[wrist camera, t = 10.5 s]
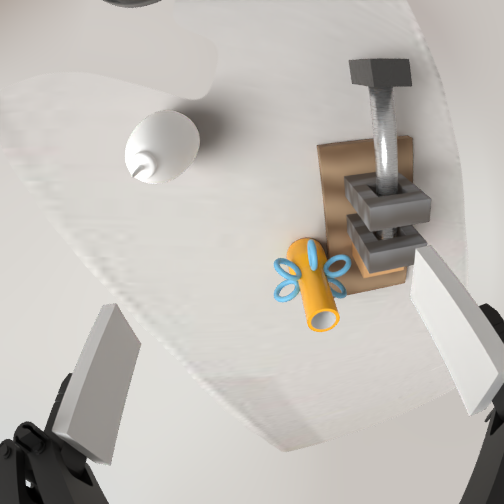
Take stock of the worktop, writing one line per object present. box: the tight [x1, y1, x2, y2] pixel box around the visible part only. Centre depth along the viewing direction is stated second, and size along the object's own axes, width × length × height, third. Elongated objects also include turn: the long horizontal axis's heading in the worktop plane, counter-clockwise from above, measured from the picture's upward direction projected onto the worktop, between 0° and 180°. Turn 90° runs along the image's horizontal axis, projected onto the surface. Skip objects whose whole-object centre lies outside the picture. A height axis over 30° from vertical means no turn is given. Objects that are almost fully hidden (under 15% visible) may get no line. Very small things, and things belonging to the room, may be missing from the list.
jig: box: [317, 136, 431, 298], centre depth 41 cm, size 26×14×12 cm, turn 11°
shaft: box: [349, 59, 412, 240], centre depth 33 cm, size 22×4×7 cm, turn 11°
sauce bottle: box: [125, 110, 200, 184], centre depth 31 cm, size 8×8×18 cm
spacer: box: [352, 242, 404, 278], centre depth 44 cm, size 4×6×6 cm, turn 101°
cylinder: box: [274, 238, 351, 332], centre depth 43 cm, size 12×10×15 cm
